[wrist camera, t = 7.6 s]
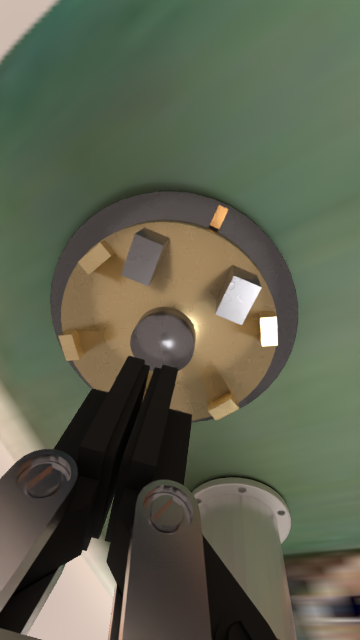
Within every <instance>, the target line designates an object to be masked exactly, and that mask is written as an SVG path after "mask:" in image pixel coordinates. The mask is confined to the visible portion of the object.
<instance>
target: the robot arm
mask: <svg viewBox="0 0 360 640" xmlns="http://www.w3.org/2000/svg"><path fill="white" fill-rule="evenodd" d="M178 369H179V368H175V367H171V366H167V365H162V368H157V367H155V369H154V371H153V374H152V377H151V380H150V382H149V385H148V388H147V391H146V393H145V396H144V392H145V388H146V383H147V379H148V374H149V370H150V366H149V365H146V364H145V360H144V359H140V358H136V357H133V356H128V357H127V359H126V361H125V363H124V365H123V367H122V368H121V370H120V372H119V374H118V376H117V378H116V379H115V381H114V383H113V385H112V387H111V389H110V391H109V392H105V391H101V390H98V389H94V388H93V389H92V390H91V391H90V392H89V394H88V396H87V397H86V399H85V400H84V402H83V404H82V405H81V407H80V408H79V410H78V411H77V413H76V415H75V416H74V418H73V419H72V421H71V423H70V424H69V426H68V427H67V429H66V430H65V432H64V434H63V435H62V437H61V438H60V440H59V442H58V443H57V445H56V446H55V448H54V449H42V450H38V451H34V452H31V453H29V454H27V455H25V456H23V457H22V458H21V459H20V460H18V461H17V462H16V463H15V464H14V465H13V466H12V467H11V468H10V469H9V470H8V471H7V472H6V473H5V474H4V475H3V476H2V478H1V479H0V640H41V639H37V638H33V637H30V636H27V634H28V632H29V631H30V629H31V627H32V625H33V623H34V622H35V620H36V618H37V616H38V615H39V613H40V611H41V609H42V607H43V606H44V604H45V602H46V600H47V599H48V597H49V595H50V593H51V591H52V590H53V588H54V586H55V584H56V583H57V581H58V579H59V577H60V575H61V574H62V571H63V569H64V566H65V564H66V563H67V562H69V561H70V560H72V559H74V558H76V557H78V556H79V555H81V553H82V550H85V551H87V548H88V545H89V543H90V540H91V537H93V538H97V539H99V537H100V535H101V532H102V529H103V526H104V523H105V520H106V517H107V514H108V511H109V509H110V506H111V503H112V500H113V497H114V500H113V504H112V509H111V514H110V519H109V524H108V528H107V533H106V538H105V541H108V542H111V543H110V548H109V552H108V557H107V561H106V562H107V564H108V566H109V568H110V570H111V572H112V574H113V576H114V579H115V581H116V585H115V590H114V597H113V606H112V612H111V620H110V628H109V635H108V640H297V638H296V632H295V626H294V620H293V614H292V608H291V602H290V596H289V590H288V584H287V578H286V571H285V565H284V559H283V553H282V547H281V543H282V542H283V541H284V540H285V539H286V538H287V536H288V534H289V532H290V528H291V518H290V513H289V509H288V506H287V504H286V503H285V501H284V499H283V498H282V497H281V496H280V495H279V494H278V493H277V492H276V491H274V490H273V489H271V488H270V487H268V486H266V485H264V484H262V483H260V482H257V481H254V480H250V479H245V478H234V477H228V478H219V479H215V480H211V481H208V482H206V483H204V484H202V485H200V486H199V487H197V488H196V489H194V490H193V491H192V493H191V492H190V491H189V490H188V489H187V488H186V487H185V486H184V478H185V470H186V462H187V454H188V446H189V438H190V430H191V422H192V414H189V413H185V412H181V411H177V410H174V409H170V404H171V399H172V395H173V391H174V387H175V382H176V378H177V374H178ZM143 397H144V399H143ZM142 401H143V402H142ZM114 494H115V495H114Z"/></svg>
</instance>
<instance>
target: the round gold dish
mask: <svg viewBox="0 0 360 640" xmlns="http://www.w3.org/2000/svg"><path fill="white" fill-rule="evenodd" d="M61 323H62V333H61V334H60V335H58V337H59V340H60V343H61V346H62V349H63V352H64V355H65V359H66V361H71V360H73V362H74V364H75V366H76V367H77V369H78V370H79V372H80V373H81V375H82V376H83V377H84V378H85V380H86V381H87V382H88V383H89V384H90V385H91V386H92V387H93V388H94V389H98V390H101V391H105V392H109V391H110V389H111V387H112V385H113V383H114V381H115V379H116V378H117V376H118V374H119V372H120V370H121V368H122V367H123V365H124V363H125V361H126V359H127V357H128V356H133V357H136V358H140V359H144V360H145V364H146V365H149V366H150V370H149V374H148V379H147V383H146V388H145V392H144V396H145V393H146V391H147V388H148V385H149V382H150V380H151V377H152V374H153V371H154V369H155V367H157V368H162V365H167V366H171V367H175V368H179V369H178V374H177V378H176V382H175V387H174V391H173V395H172V399H171V404H170V409H174V410H177V411H181V412H185V413H189V414H192V421H193V420H198V419H203V418H207V417H210V416H213V418H214V419H215V420H216V421H217V420H219V419H221V418H223V417H224V416H226V415H228V414H230V413H232V412H234V411H236V410H238V409H239V402H240V401H242V400H243V399H244V398H245V397H247V396H248V395H249V394H250V393H251V392H252V391H253V390H254V389H255V388H256V387H257V385H258V384H259V383H260V381H261V380H262V378H263V377H264V376H265V374H266V372H267V370H268V368H269V366H270V364H271V361H272V359H273V356H274V353H275V348H276V345H278V342H277V333H278V323H277V314H276V309H275V305H274V301H273V298H272V295H271V293H270V291H269V288H268V286H267V284H266V281H265V279H264V277H263V275H262V274H261V272H260V270H259V269H258V267H257V265H256V264H255V263H254V262H253V260H252V259H251V258H250V257H249V256H248V254H247V253H246V252H245V251H243V250H242V249H241V248H240V247H239V246H238V245H237V244H236V243H234V242H233V241H231V240H230V239H229V238H227V237H226V236H224V235H222V234H220V233H218V232H217V231H215V230H213V229H211V228H208V227H205V226H202V225H199V224H197V223H192V222H187V221H182V220H170V219H163V220H150V221H146V222H141V223H137V224H134V225H131V226H129V227H126V228H123V229H121V230H119V231H117V232H115V233H114V234H112V235H110V236H108V237H106V238H104V239H103V240H101V241H100V242H99V243H97V244H96V245H95V246H93V247H92V248H91V249H90V250H89V251H88V252H87V253H86V254H85V255H84V256H83V257H82V258H81V260H80V261H78V264H77V265H76V267H75V268H74V270H73V272H72V274H71V276H70V277H69V279H68V282H67V285H66V288H65V291H64V294H63V300H62V305H61ZM143 399H144V397H143ZM142 402H143V401H142Z"/></svg>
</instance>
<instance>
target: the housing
mask: <svg viewBox="0 0 360 640" xmlns="http://www.w3.org/2000/svg"><path fill="white" fill-rule="evenodd" d="M163 219H170V220H182V221H187V222H192V223H197V224H199V225H202V226H205V227H208V228H211V229H213V230H215V231H217V232H218V233H220V234H222V235H224V236H226V237H227V238H229V239H230V240H231V241H233V242H234V243H236V244H237V245H238V246H239V247H240V248H241V249H242V250H243V251H245V252H246V253H247V254H248V256H249V257H250V258H251V259H252V260H253V262H254V263H255V264H256V265H257V267H258V269H259V270H260V272H261V274H262V275H263V277H264V279H265V281H266V284H267V286H268V288H269V291H270V293H271V295H272V298H273V301H274V305H275V309H276V314H277V323H278V333H277V342H278V345H276V348H275V353H274V356H273V359H272V361H271V364H270V366H269V368H268V370H267V372H266V374H265V376H264V377H263V378H262V380H261V381H260V383H259V384H258V385H257V387H256V388H255V389H254V390H253V391H252V392H251V393H250V394H249V395H248V396H247V397H245V398H244V399H243V400H242V401H240V402H239V409H240V408H242V407H243V406H245V405H247V404H248V403H250V402H251V401H253V400H254V399H256V398H257V397H258V396H259V395H260V394H262V393H263V392H264V391H265V390H266V389H267V388H268V387H269V386H270V385H271V384H272V383H273V381H274V380H275V379H276V378H277V377H278V375H279V374H280V372H281V370H282V369H283V367H284V366H285V364H286V362H287V360H288V358H289V355H290V353H291V351H292V348H293V344H294V341H295V338H296V332H297V325H298V302H297V296H296V289H295V286H294V283H293V280H292V276H291V273H290V271H289V269H288V267H287V265H286V263H285V261H284V258H283V257H282V255H281V254H280V252H279V251H278V249H277V248H276V246H275V245H274V243H273V242H272V241H271V239H270V238H269V237H268V236H267V235H266V234H265V233H264V232H263V231H262V229H261V228H260V227H259V226H258V225H256V224H255V223H254V222H253V221H252V220H250V219H249V218H248V217H247V216H246V215H244V214H243V213H241V212H239V211H238V210H236V209H234V208H233V207H231V206H229V205H227V204H225V203H223V202H220V201H218V200H216V199H214V198H210V197H207V196H203V195H199V194H196V193H188V192H181V191H159V192H152V193H145V194H139V195H136V196H133V197H129V198H126V199H123V200H120V201H118V202H116V203H114V204H112V205H110V206H107V207H105V208H104V209H102V210H101V211H99V212H98V213H97V214H95V215H94V216H92V217H91V218H90V219H89V220H88V221H86V222H85V223H84V224H83V225H82V226H81V227H80V228H79V229H78V230H77V231H76V233H75V234H74V235H73V236H72V238H71V239H70V240H69V242H68V243H67V245H66V247H65V248H64V250H63V252H62V254H61V256H60V258H59V261H58V263H57V266H56V268H55V272H54V276H53V280H52V287H51V315H52V320H53V326H54V329H55V333H56V336H57V339H58V342H59V344H60V346H61V343H60V340H59V337H58V335H60V334H61V333H62V323H61V305H62V300H63V294H64V291H65V288H66V285H67V282H68V279H69V277H70V276H71V274H72V272H73V270H74V268H75V267H76V265H77V264H78V261H80V260H81V258H82V257H83V256H84V255H85V254H86V253H87V252H88V251H89V250H90V249H91V248H92V247H93V246H95V245H96V244H97V243H99V242H100V241H101V240H103V239H104V238H106V237H108V236H110V235H112V234H114V233H115V232H117V231H119V230H121V229H123V228H126V227H129V226H131V225H134V224H137V223H141V222H146V221H150V220H163ZM61 348H62V346H61ZM62 350H63V349H62ZM63 353H64V352H63ZM69 363H70V364H71V366H72V367H73V369H74V370H75V371H76V372H77V374H78V375H79V376H80V377H81V378H82V379H83V380H84V382H85V383H86V384H87V385H88V386H89V387H90V388H92V389H93V387H92V386H91V385H90V384H89V383H88V382H87V381H86V380H85V378H84V377H83V376H82V375H81V373H80V372H79V370H78V369H77V367H76V366H75V364H74V362H73V360H71V361H69ZM210 419H214V418H213V416H210V417H207V418H203V419H198V420H193V421H192V422H198V421H205V420H210Z"/></svg>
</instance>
